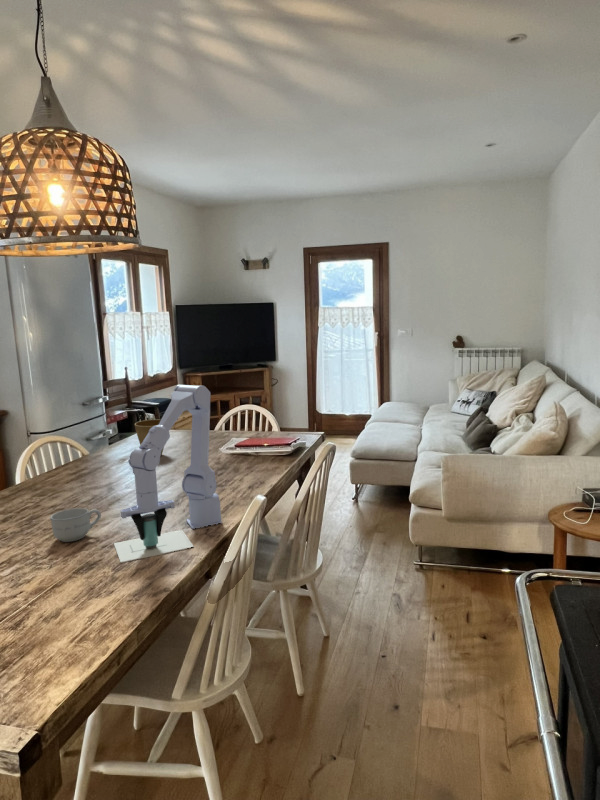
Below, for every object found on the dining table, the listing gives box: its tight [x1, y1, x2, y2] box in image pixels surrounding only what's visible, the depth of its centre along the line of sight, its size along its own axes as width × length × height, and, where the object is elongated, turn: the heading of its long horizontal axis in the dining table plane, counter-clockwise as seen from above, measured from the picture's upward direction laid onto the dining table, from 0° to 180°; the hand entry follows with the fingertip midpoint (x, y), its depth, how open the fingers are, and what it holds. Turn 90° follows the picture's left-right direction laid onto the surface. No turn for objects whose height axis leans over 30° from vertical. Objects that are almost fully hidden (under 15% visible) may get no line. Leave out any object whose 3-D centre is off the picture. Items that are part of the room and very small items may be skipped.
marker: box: [141, 513, 158, 549], centre depth 157 cm, size 4×4×9 cm
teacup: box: [49, 507, 102, 543], centre depth 168 cm, size 14×11×8 cm
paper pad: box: [113, 529, 195, 564], centre depth 160 cm, size 20×14×1 cm
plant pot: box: [134, 419, 165, 457], centre depth 260 cm, size 15×15×16 cm
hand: (150, 536), depth 157 cm, fingers closed on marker, 4 cm apart
